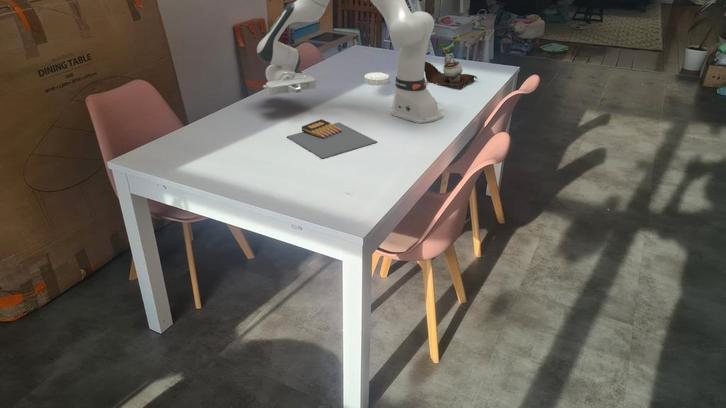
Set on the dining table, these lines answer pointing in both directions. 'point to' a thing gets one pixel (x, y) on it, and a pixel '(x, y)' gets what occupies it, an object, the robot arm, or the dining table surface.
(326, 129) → the ammunition clip
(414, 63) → the robot arm
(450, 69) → the potted plant
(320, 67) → the dining table surface
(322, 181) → the dining table surface
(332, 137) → the slate mat
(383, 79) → the mooncake
